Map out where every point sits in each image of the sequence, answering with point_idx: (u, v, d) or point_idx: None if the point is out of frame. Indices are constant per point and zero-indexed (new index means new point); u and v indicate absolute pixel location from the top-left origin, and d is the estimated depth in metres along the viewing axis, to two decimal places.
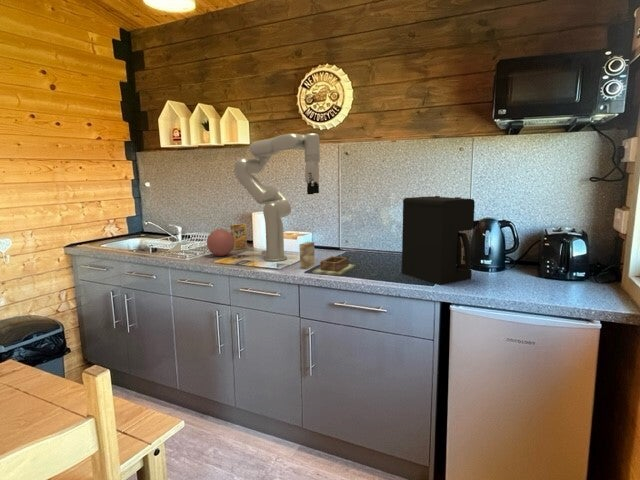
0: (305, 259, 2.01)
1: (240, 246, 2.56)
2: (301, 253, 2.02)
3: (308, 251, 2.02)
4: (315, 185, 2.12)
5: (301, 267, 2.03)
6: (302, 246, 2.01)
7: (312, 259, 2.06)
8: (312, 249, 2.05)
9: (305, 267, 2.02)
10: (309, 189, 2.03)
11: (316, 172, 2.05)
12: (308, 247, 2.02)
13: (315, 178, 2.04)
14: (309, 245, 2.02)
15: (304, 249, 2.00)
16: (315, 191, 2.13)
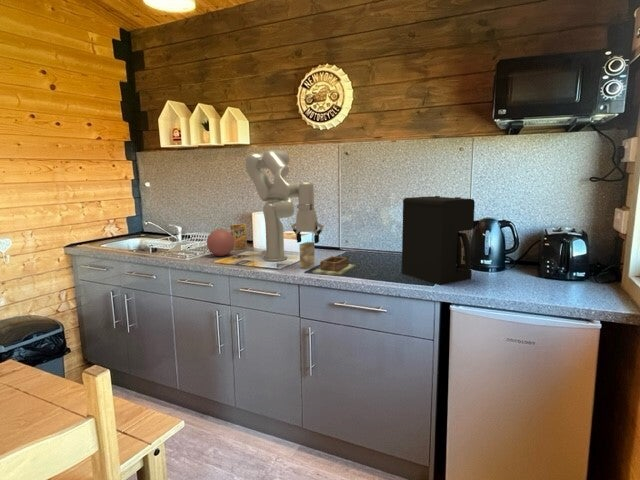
0: (305, 259, 2.01)
1: (240, 246, 2.56)
2: (301, 253, 2.02)
3: (308, 251, 2.02)
4: (299, 234, 2.05)
5: (301, 267, 2.03)
6: (302, 246, 2.01)
7: (312, 259, 2.06)
8: (312, 249, 2.05)
9: (305, 267, 2.02)
10: (318, 238, 2.00)
11: None
12: (308, 247, 2.02)
13: None
14: (309, 245, 2.02)
15: (304, 249, 2.00)
16: (299, 240, 2.05)
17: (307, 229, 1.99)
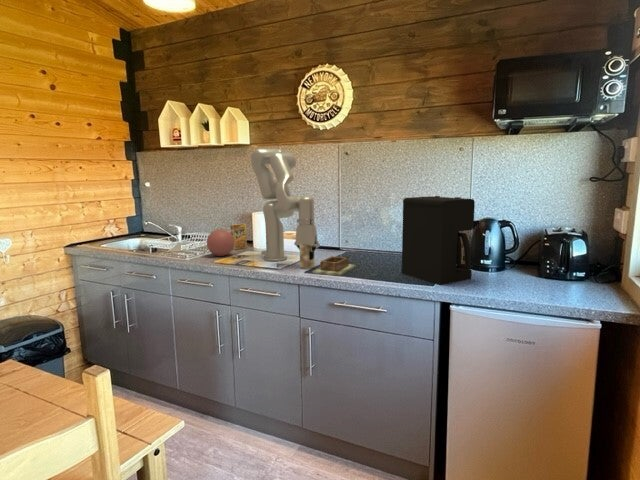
0: (305, 259, 2.01)
1: (240, 246, 2.56)
2: (301, 253, 2.02)
3: (308, 251, 2.02)
4: None
5: (301, 267, 2.03)
6: (302, 246, 2.01)
7: (312, 259, 2.06)
8: None
9: (305, 267, 2.02)
10: (312, 254, 2.03)
11: None
12: (308, 247, 2.02)
13: None
14: None
15: (304, 249, 2.00)
16: None
17: (307, 244, 2.01)
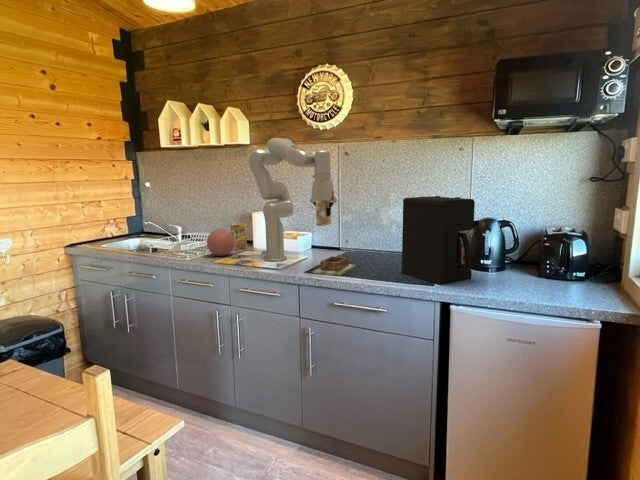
0: (322, 215, 1.93)
1: (240, 246, 2.56)
2: (317, 209, 1.94)
3: (325, 207, 1.94)
4: None
5: (318, 224, 1.95)
6: (318, 202, 1.93)
7: (329, 216, 1.98)
8: None
9: (322, 224, 1.94)
10: (329, 211, 1.95)
11: None
12: (325, 203, 1.94)
13: None
14: None
15: (321, 204, 1.93)
16: None
17: (323, 199, 1.93)
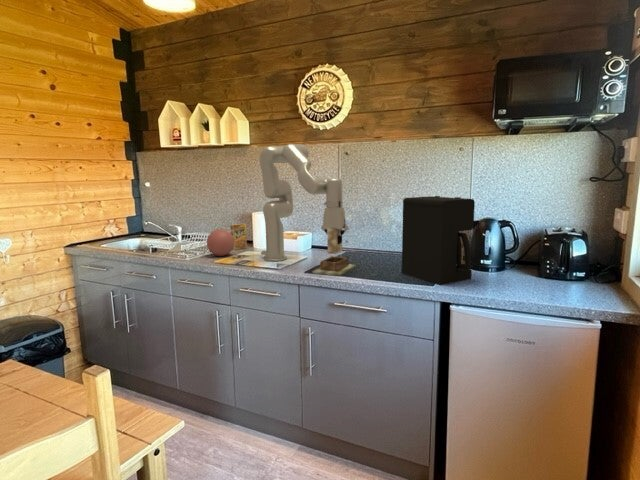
0: (333, 243, 1.93)
1: (240, 246, 2.56)
2: (328, 237, 1.94)
3: (336, 235, 1.94)
4: None
5: (329, 252, 1.95)
6: (330, 230, 1.93)
7: (340, 244, 1.98)
8: None
9: (333, 252, 1.94)
10: (341, 238, 1.95)
11: None
12: (336, 231, 1.93)
13: None
14: None
15: (333, 233, 1.92)
16: None
17: (335, 227, 1.93)
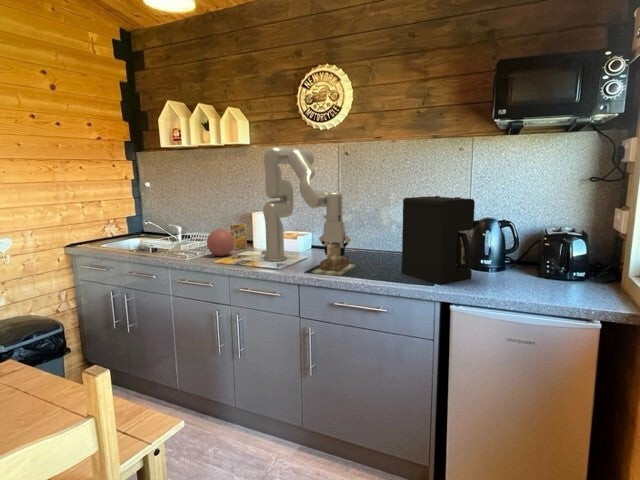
0: (333, 259, 1.94)
1: (240, 246, 2.56)
2: (328, 253, 1.95)
3: (336, 251, 1.95)
4: None
5: None
6: (330, 246, 1.94)
7: (339, 259, 1.99)
8: None
9: None
10: (344, 251, 1.96)
11: None
12: (336, 247, 1.95)
13: None
14: (337, 245, 1.96)
15: (332, 249, 1.94)
16: None
17: (335, 240, 1.94)
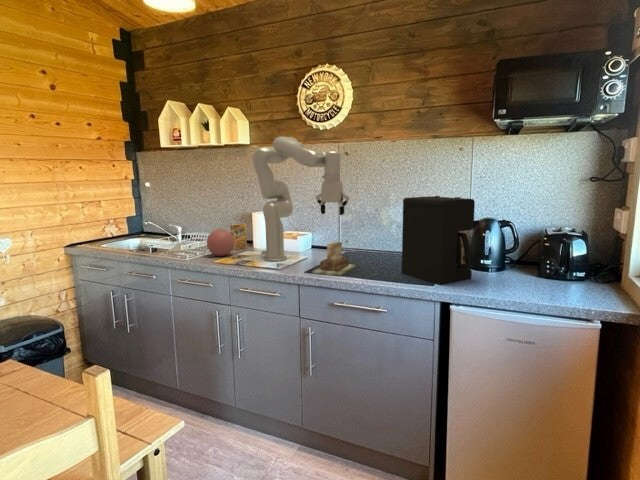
0: (333, 259, 1.94)
1: (240, 246, 2.56)
2: (328, 253, 1.95)
3: (336, 251, 1.95)
4: (323, 205, 1.99)
5: None
6: (330, 246, 1.94)
7: (339, 259, 1.99)
8: (340, 249, 1.99)
9: None
10: (343, 209, 1.95)
11: None
12: (336, 247, 1.95)
13: None
14: (337, 245, 1.96)
15: (332, 249, 1.94)
16: (323, 211, 1.99)
17: (332, 200, 1.93)
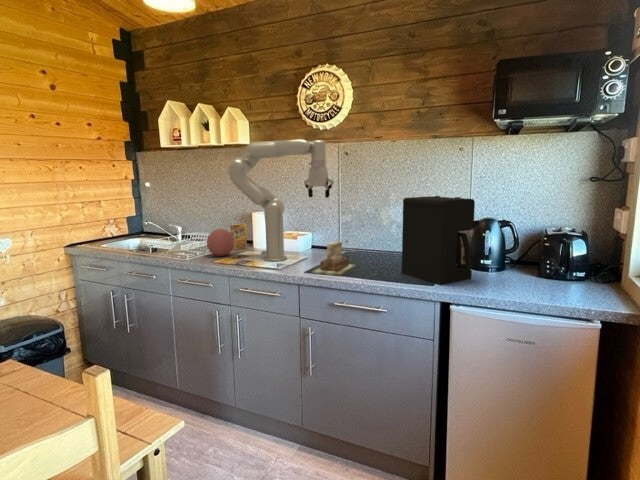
0: (333, 259, 1.94)
1: (240, 246, 2.56)
2: (328, 253, 1.95)
3: (336, 251, 1.95)
4: (311, 189, 2.21)
5: None
6: (330, 246, 1.94)
7: (339, 259, 1.99)
8: (340, 249, 1.99)
9: None
10: (328, 192, 2.16)
11: None
12: (336, 247, 1.95)
13: None
14: (337, 245, 1.96)
15: (332, 249, 1.94)
16: (311, 195, 2.21)
17: (319, 184, 2.15)
